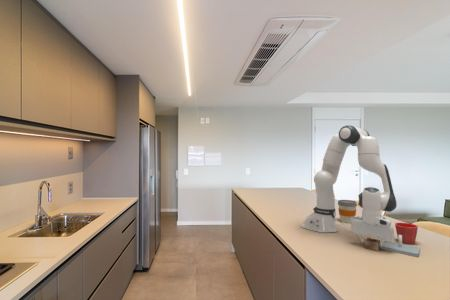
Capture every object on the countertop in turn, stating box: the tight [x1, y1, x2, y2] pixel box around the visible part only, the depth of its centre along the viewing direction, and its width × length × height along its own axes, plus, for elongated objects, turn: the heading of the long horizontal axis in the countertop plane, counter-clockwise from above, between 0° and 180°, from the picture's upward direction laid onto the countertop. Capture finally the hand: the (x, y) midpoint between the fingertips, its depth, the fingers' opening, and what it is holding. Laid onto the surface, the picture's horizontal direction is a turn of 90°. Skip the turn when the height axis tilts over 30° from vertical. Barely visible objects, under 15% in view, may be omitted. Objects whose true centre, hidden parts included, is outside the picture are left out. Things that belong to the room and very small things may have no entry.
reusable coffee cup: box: [337, 199, 358, 224], centre depth 189 cm, size 13×13×15 cm
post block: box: [379, 235, 421, 258], centre depth 134 cm, size 16×12×8 cm
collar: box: [364, 237, 381, 252], centre depth 136 cm, size 6×6×4 cm
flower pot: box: [394, 222, 419, 245], centre depth 146 cm, size 11×11×10 cm
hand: (371, 244), depth 137 cm, fingers open, 7 cm apart
